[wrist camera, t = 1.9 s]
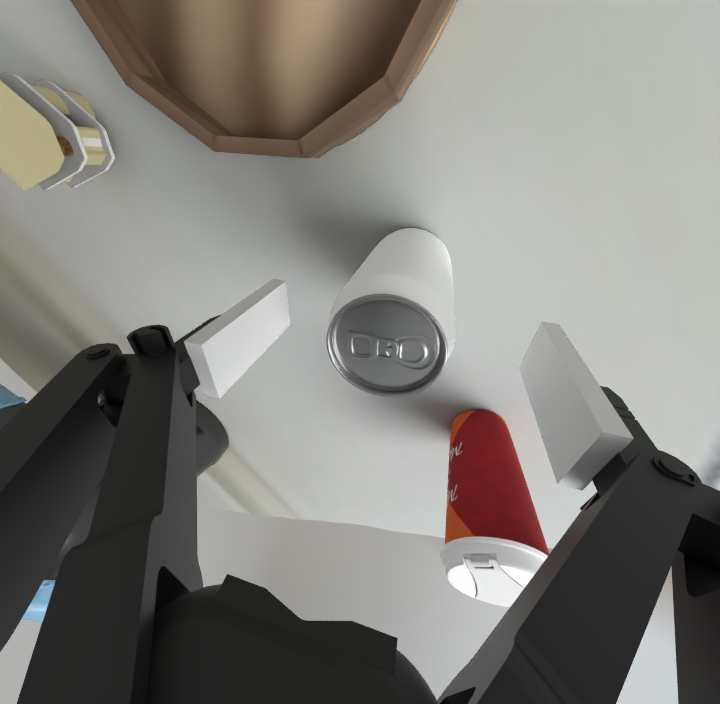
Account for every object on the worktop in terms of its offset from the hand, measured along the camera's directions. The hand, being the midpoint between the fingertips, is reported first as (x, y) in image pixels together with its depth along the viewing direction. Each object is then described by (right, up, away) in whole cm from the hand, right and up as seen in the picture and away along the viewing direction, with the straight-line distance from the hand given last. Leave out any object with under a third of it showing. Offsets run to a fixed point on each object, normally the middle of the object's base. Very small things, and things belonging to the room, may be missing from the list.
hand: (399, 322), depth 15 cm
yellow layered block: (-24, +16, +8) cm, 30 cm away
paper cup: (+11, -10, +15) cm, 21 cm away
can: (+2, +5, +8) cm, 10 cm away
